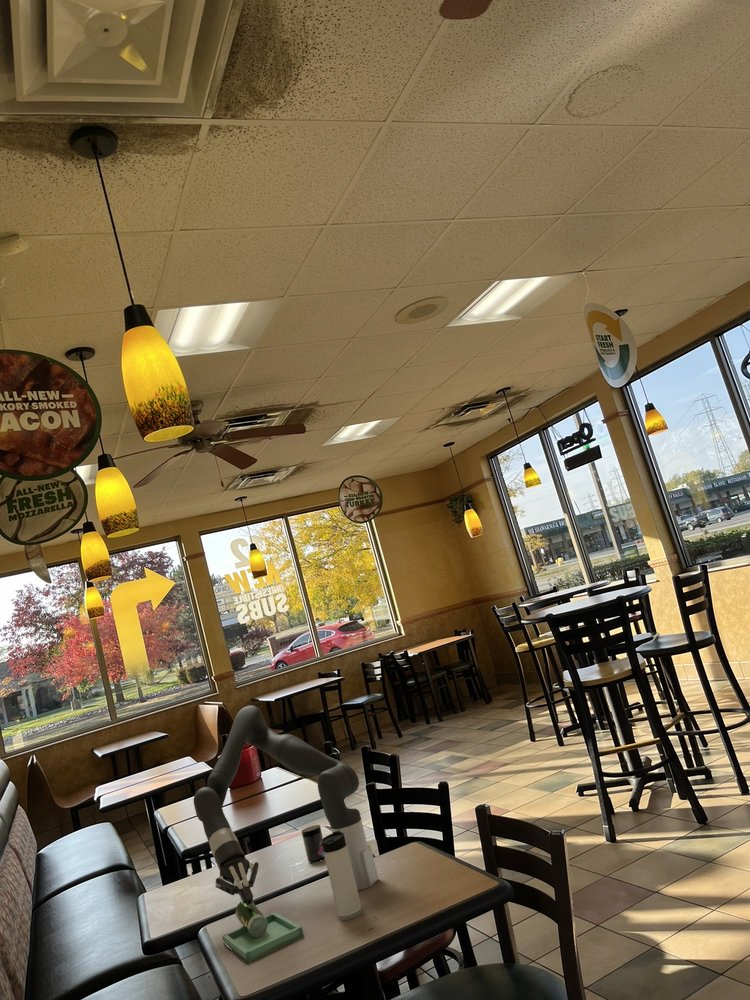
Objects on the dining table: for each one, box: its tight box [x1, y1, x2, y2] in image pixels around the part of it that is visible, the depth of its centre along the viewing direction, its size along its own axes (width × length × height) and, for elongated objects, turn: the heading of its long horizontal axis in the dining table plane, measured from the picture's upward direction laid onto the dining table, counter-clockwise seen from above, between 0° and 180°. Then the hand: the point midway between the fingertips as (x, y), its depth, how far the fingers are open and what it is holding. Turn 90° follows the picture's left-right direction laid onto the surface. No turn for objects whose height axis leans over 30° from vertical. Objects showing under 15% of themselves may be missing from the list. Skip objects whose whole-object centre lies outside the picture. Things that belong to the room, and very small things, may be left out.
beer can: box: [235, 900, 268, 937], centre depth 193 cm, size 5×5×12 cm
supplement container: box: [301, 824, 325, 864], centre depth 249 cm, size 7×7×10 cm
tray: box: [221, 911, 305, 964], centre depth 187 cm, size 20×15×2 cm
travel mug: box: [321, 831, 363, 921], centre depth 190 cm, size 6×7×20 cm
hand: (249, 902), depth 193 cm, fingers closed
